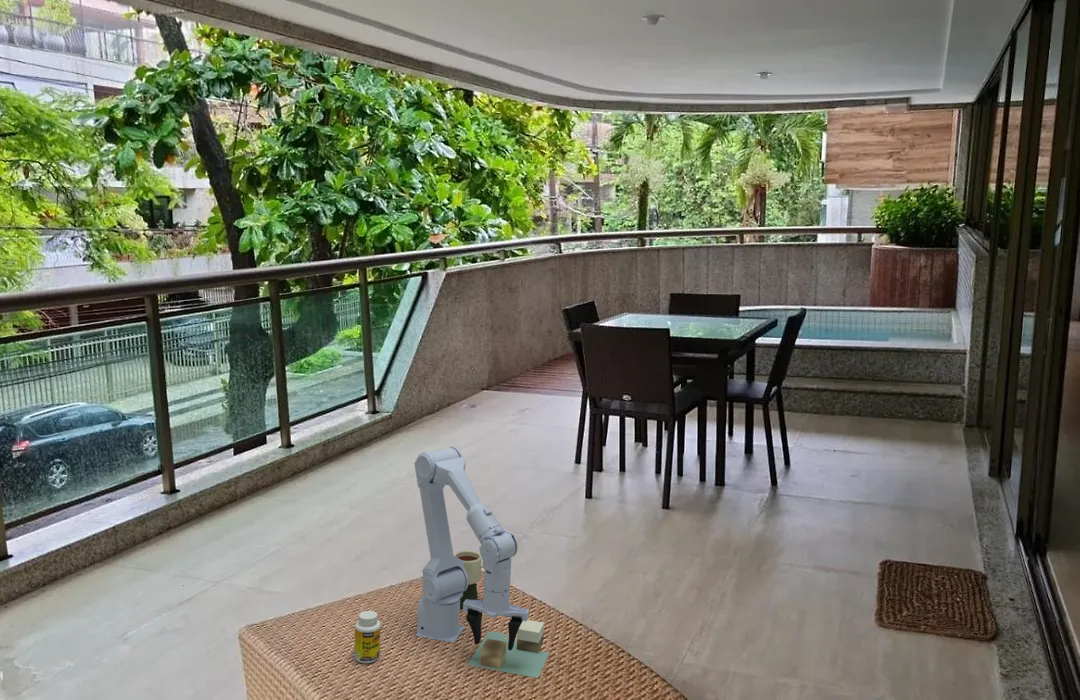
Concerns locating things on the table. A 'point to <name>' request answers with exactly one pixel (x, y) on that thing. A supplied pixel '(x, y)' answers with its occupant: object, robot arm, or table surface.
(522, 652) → the teal board
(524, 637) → the cream block
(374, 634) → the supplement bottle
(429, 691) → the table surface
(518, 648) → the walnut block
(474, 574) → the character mug
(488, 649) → the oak block
